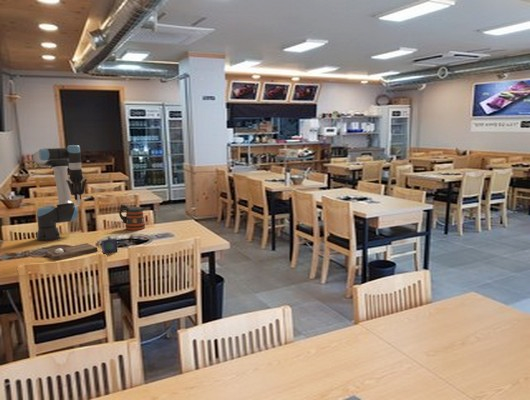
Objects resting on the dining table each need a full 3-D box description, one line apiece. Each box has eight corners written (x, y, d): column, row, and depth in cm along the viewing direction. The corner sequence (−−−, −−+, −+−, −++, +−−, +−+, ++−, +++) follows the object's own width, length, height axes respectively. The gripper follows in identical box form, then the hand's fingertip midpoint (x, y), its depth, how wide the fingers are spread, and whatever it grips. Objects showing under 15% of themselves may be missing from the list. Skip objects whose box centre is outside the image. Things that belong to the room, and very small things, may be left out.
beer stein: (119, 231, 317) (118, 206, 314) (120, 227, 331) (118, 203, 328) (145, 229, 323) (143, 204, 319) (145, 225, 336) (143, 201, 333)
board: (45, 255, 258) (45, 251, 257) (87, 246, 276) (86, 243, 276) (55, 260, 247) (54, 256, 246) (97, 251, 265) (97, 247, 265)
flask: (102, 254, 259) (101, 237, 257) (102, 253, 261) (100, 236, 260) (117, 252, 263) (116, 236, 261) (117, 251, 265) (116, 235, 264)
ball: (53, 248, 255) (61, 246, 259) (54, 256, 256) (62, 254, 260) (55, 250, 252) (64, 248, 255) (56, 257, 253) (65, 255, 256)
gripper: (67, 170, 260) (70, 206, 265) (87, 168, 270) (90, 203, 274) (62, 169, 266) (66, 205, 270) (83, 167, 275) (86, 202, 279)
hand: (78, 204), depth 272 cm, fingers closed
